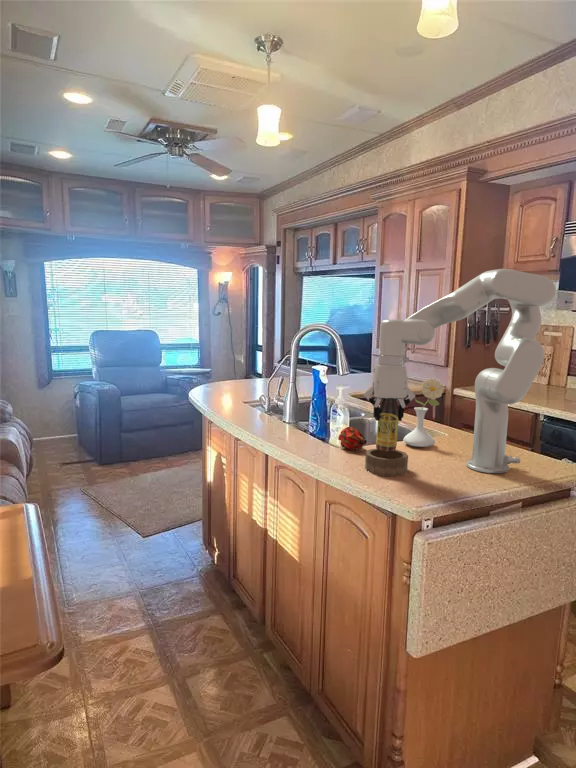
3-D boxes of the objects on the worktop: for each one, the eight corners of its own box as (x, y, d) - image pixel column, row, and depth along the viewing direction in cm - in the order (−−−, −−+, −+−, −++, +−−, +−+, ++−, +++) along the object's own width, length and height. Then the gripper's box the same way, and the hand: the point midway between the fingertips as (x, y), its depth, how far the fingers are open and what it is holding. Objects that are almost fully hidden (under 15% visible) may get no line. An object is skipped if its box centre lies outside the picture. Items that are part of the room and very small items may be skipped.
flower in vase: (401, 447, 180) (405, 379, 177) (404, 440, 191) (407, 375, 187) (439, 451, 176) (444, 381, 173) (439, 443, 187) (444, 377, 184)
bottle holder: (400, 463, 161) (401, 448, 160) (411, 476, 149) (412, 460, 148) (362, 463, 161) (363, 448, 160) (369, 475, 149) (370, 459, 148)
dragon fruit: (342, 448, 184) (361, 461, 174) (328, 437, 180) (346, 450, 169) (356, 429, 184) (375, 441, 174) (342, 418, 180) (361, 430, 170)
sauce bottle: (373, 451, 152) (376, 386, 149) (377, 446, 158) (380, 383, 155) (395, 453, 150) (398, 388, 147) (398, 448, 156) (401, 385, 153)
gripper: (416, 360, 154) (412, 417, 157) (360, 359, 153) (357, 416, 156) (423, 363, 147) (419, 423, 149) (364, 361, 146) (361, 422, 149)
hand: (388, 419), depth 153 cm, fingers closed on sauce bottle, 6 cm apart
